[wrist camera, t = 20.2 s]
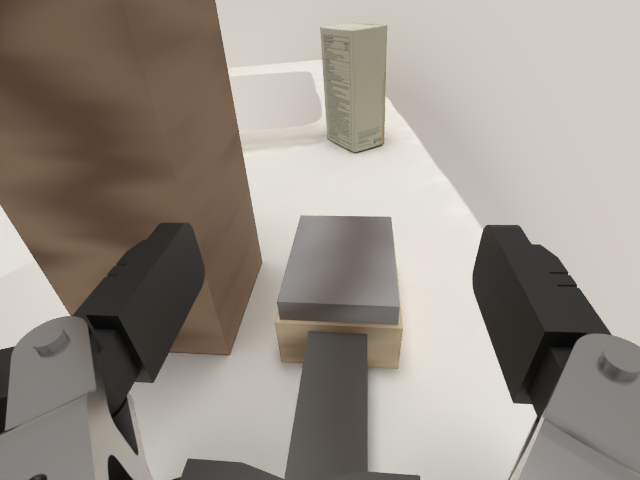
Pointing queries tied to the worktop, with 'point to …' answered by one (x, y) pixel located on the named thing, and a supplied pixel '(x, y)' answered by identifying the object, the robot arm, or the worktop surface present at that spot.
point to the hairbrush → (337, 336)
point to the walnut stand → (125, 147)
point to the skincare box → (354, 83)
